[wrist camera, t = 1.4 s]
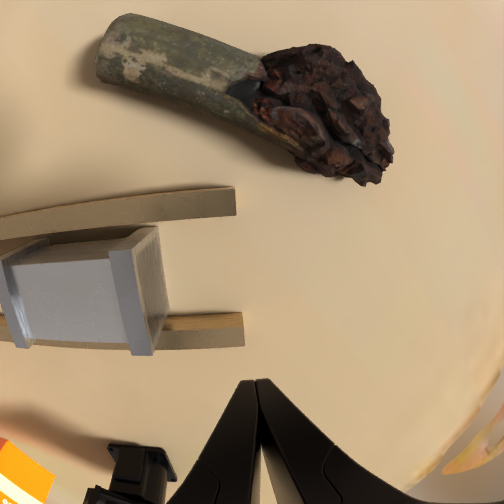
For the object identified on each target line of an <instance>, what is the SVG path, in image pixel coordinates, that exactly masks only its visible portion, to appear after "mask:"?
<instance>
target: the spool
mask: <svg viewBox="0 0 504 504" xmlns="http://www.w3.org/2000/svg"><path fill="white" fill-rule="evenodd" d="M0 303H1V306H2V310H3V313H4V316H5V319H6V321H7V324H8V327H9V330H10V333H11V335H12V338H13V340H14V343H15V345H16V347H18V348H26V349H29V348H30V346H31V345H32V344H33V343H34V342H35V341H36V340H37V339H45V340H59V341H76V342H103V343H129V347H130V351H131V354H132V355H134V356H153V353H154V350H155V347H156V345H157V342H158V339H159V336H160V333H161V331H162V328H163V325H164V322H165V320H166V317H167V314H168V312H169V309H170V307H169V301H168V295H167V289H166V282H165V276H164V269H163V261H162V254H161V246H160V238H159V229H158V226H152V227H141V228H139V229H138V230H137V231H135V232H134V233H132V234H131V235H130V236H128V237H127V238H119V239H108V240H97V241H87V242H77V243H67V244H57V245H49V239H48V237H47V238H39V239H35V240H33V241H31V242H29V243H26V244H24V245H22V246H20V247H18V248H16V249H14V250H12V251H10V252H8V253H5V254H3V255H1V256H0Z"/></svg>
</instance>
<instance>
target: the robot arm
mask: <svg viewBox="0 0 504 504" xmlns="http://www.w3.org/2000/svg"><path fill="white" fill-rule="evenodd" d="M261 447H262V452H263V456H264V459H265V463H266V466H267V470H268V473H269V477H270V480H271V483H272V487H273V490H274V494H275V497H276V500H277V503H278V504H504V500H503V501H499V502H492V503H434V502H426V501H422V500H418V499H415V498H413V497H411V496H409V495H407V494H405V493H403V492H401V491H400V490H398V489H396V488H395V487H393V486H391V485H390V484H388V483H386V482H385V481H383V480H382V479H380V478H378V477H377V476H375V475H374V474H372V473H371V472H369V471H368V470H366V469H365V468H363V467H362V466H361V465H359V464H358V463H357V462H355V461H354V460H353V459H352V458H350V457H349V456H348V455H347V454H346V453H345V452H343V451H342V450H341V449H340V448H339V447H338V446H337V445H334V442H333V441H331V440H330V439H329V438H328V437H327V436H326V435H325V434H324V433H323V432H322V431H321V430H320V429H319V428H318V427H317V426H316V425H315V424H314V423H313V422H312V421H311V420H309V419H308V418H307V417H306V416H305V415H304V414H303V413H302V412H301V411H300V410H299V409H298V408H297V407H296V406H295V405H294V404H293V403H292V402H291V401H290V400H289V399H288V398H287V397H286V396H285V395H284V393H283V392H282V391H281V390H280V389H279V388H278V387H277V386H276V385H275V384H274V383H273V382H272V381H271V380H270V379H268V378H265V379H256V380H255V381H254V380H242V381H240V382H239V384H238V386H237V388H236V390H235V392H234V394H233V395H232V397H231V399H230V401H229V403H228V405H227V407H226V409H225V410H224V412H223V414H222V416H221V418H220V420H219V421H218V423H217V425H216V427H215V429H214V431H213V432H212V434H211V436H210V438H209V440H208V441H207V443H206V445H205V447H204V448H203V450H202V452H201V454H200V456H199V457H198V459H199V460H197V461H196V462H195V464H194V466H193V467H192V469H191V471H190V472H189V474H188V475H187V477H186V479H185V480H184V482H183V483H182V484H181V486H180V487H179V488H178V490H177V491H176V492H175V493H174V495H173V496H172V497H171V498H170V499H169V501H168V502H167V503H166V504H260V474H261ZM107 449H108V451H109V453H110V454H111V456H112V458H113V459H114V461H115V462H116V464H115V467H114V471H113V474H112V479H111V483H110V487H109V490H106V489H104V488H101V486H98V485H96V486H95V489H94V488H88V490H87V493H86V496H85V499H84V502H83V504H165V496H166V487H167V482H176V481H177V476H176V474H175V472H174V469H173V467H172V465H171V463H170V461H169V458H168V456H167V454H166V452H165V451H164V450H163V449H154V448H141V447H130V446H121V445H113V444H108V446H107Z"/></svg>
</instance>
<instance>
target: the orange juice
mask: <svg viewBox="0 0 504 504" xmlns="http://www.w3.org/2000/svg"><path fill="white" fill-rule="evenodd" d="M54 478H55V476H54V475H53V474H51V473H50V472H48V471H47V470H46V469H44V468H43V467H41V466H40V465H39V464H37V463H36V462H34V461H33V460H32V459H30V458H29V457H28V456H27V455H25V454H24V453H23V452H21V451H20V450H19V449H18V448H16V447H15V446H14V445H13V444H12V443H10V442H9V441H7V442H6V443H5V445H4V446H3V447H2V449H1V450H0V504H45V501H46V498H47V496H48V493H49V490H50V488H51V485H52V483H53V480H54Z"/></svg>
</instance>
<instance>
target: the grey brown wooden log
mask: <svg viewBox="0 0 504 504" xmlns="http://www.w3.org/2000/svg"><path fill="white" fill-rule="evenodd" d="M95 71H96V75H97V77H98V78H99V79H101V80H100V82H102V83H106V84H111V85H116V86H120V87H124V88H128V89H132V90H136V91H140V92H143V93H147V94H150V95H153V96H156V97H160V98H163V99H166V100H170V101H173V102H176V103H179V104H182V105H185V106H188V107H191V108H193V109H195V110H198V111H200V112H203V113H206V114H208V115H211V116H214V117H216V118H219V119H221V120H224V121H226V122H229V123H231V124H234V125H236V126H238V127H240V128H243V129H245V130H247V131H250V132H252V133H254V134H257V135H259V136H261V137H263V138H266V139H268V140H270V141H272V142H274V143H276V144H278V145H280V146H282V147H283V148H285V149H287V151H288V152H290V153H291V154H292V155H294V156H295V162H296V164H297V166H298V167H300V168H302V169H303V170H305V171H307V172H310V173H313V174H317V173H318V174H322V175H323V176H325V177H333V176H337V175H340V176H344V177H348V178H352V179H353V180H354V181H355V182H356V183H358V184H359V185H360V186H365V187H366V183H367V182H372V183H374V184H378V183H380V182H381V178H382V172H383V171H386V169H385V168H387V167H388V166H389V164H390V163H393V156H392V155H393V154H394V148H393V147H392V145H391V143H390V142H389V139H388V136H389V134H390V130H389V126H390V123H389V119H386V118H385V117H384V116H383V114H382V113H381V98H380V96H379V95H378V93H377V91H376V88H375V87H374V85H372V84H371V83H370V82H368V81H367V80H366V79H365V77H364V76H363V74H362V71H361V70H360V69H359V68H358V66H357V65H356V64H355V62H354V61H353V60H352V61H351V62H349V63H348V62H347V61H345V59H344V58H343V56H342V55H341V53H340V52H339V51H337V50H336V49H335V48H332V47H331V46H326V45H321V44H309V45H307V46H302V47H292V48H290V49H284V50H279V51H276V52H273V53H270V54H267V55H265V56H264V57H263V58H261V59H259V57H257V56H255V55H253V54H250V53H248V52H245V51H243V50H241V49H238V48H236V47H233V46H230V45H228V44H225V43H223V42H220V41H218V40H215V39H213V38H210V37H207V36H205V35H202V34H199V33H196V32H193V31H190V30H187V29H184V28H181V27H178V26H175V25H172V24H169V23H166V22H163V21H159V20H156V19H153V18H149V17H145V16H142V15H138V14H132V13H129V14H125V15H122V16H119V17H118V18H117V19H115V20H114V21H113V22H112V23H111V24H110V26H109V27H108V29H107V30H106V32H105V35H104V38H103V39H102V41H101V44H100V46H99V49H98V52H97V56H96V59H95Z"/></svg>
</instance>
